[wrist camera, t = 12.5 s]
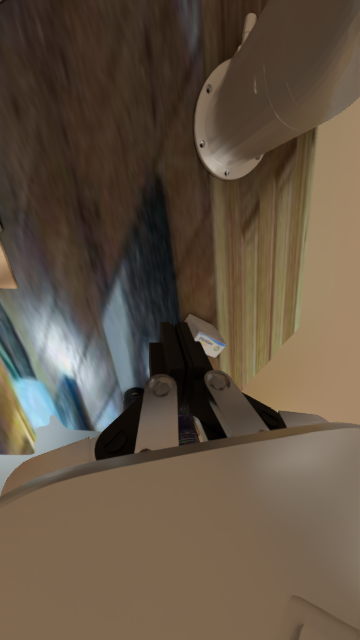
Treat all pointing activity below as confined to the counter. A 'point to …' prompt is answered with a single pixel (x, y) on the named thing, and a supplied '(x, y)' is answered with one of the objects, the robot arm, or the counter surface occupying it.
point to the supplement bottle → (131, 397)
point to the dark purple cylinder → (186, 428)
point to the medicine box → (206, 335)
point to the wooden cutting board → (6, 271)
